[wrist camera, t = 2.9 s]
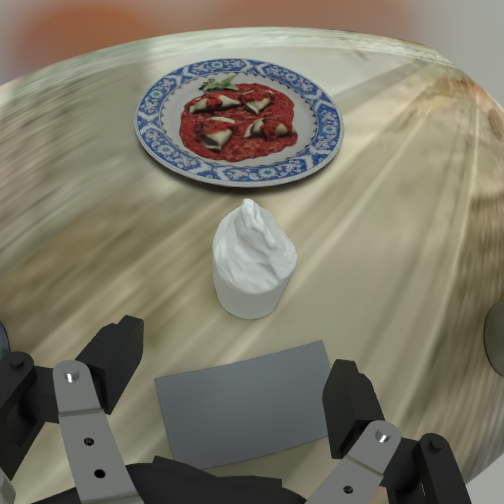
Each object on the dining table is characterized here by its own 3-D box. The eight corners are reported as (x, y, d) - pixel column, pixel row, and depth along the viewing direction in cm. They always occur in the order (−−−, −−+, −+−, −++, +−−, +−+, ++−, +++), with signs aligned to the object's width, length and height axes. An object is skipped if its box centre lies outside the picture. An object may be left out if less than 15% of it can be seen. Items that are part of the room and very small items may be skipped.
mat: (320, 340, 26) (321, 340, 26) (346, 427, 23) (348, 427, 22) (155, 378, 23) (154, 378, 23) (178, 472, 20) (178, 472, 19)
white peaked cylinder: (338, 222, 17) (260, 282, 15) (292, 295, 28) (242, 335, 26) (266, 154, 19) (187, 197, 17) (248, 246, 29) (198, 281, 27)
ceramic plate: (368, 192, 34) (379, 175, 32) (131, 212, 30) (125, 194, 27) (306, 70, 45) (309, 56, 43) (144, 76, 41) (142, 61, 39)
